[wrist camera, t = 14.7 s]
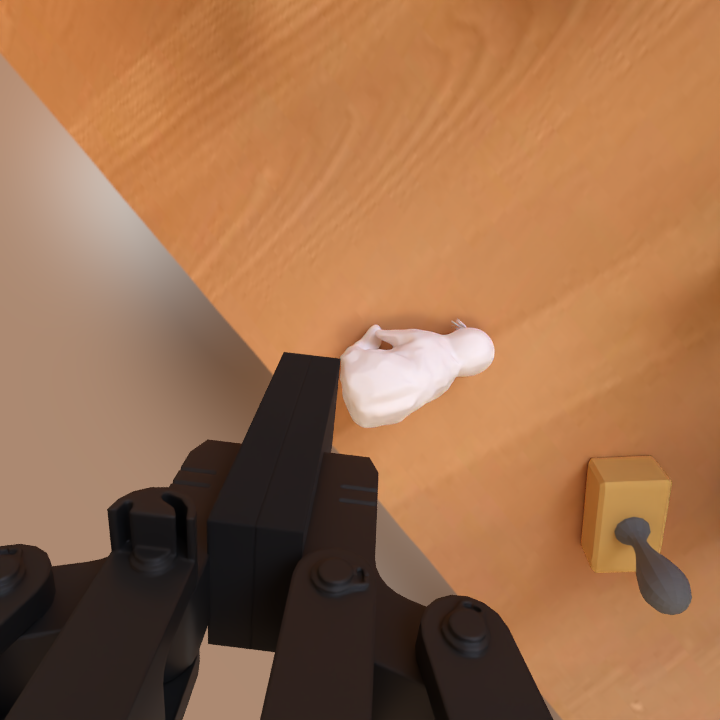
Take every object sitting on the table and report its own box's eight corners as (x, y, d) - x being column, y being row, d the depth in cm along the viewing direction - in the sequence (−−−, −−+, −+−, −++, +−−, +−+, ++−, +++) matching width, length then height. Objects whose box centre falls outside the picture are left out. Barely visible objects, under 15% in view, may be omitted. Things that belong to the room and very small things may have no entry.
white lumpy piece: (331, 373, 37) (506, 331, 37) (332, 331, 45) (476, 295, 45) (354, 451, 40) (519, 413, 39) (351, 397, 48) (488, 365, 47)
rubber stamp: (641, 543, 53) (707, 655, 42) (579, 545, 53) (627, 656, 42) (655, 455, 49) (730, 554, 38) (587, 458, 49) (642, 557, 38)
